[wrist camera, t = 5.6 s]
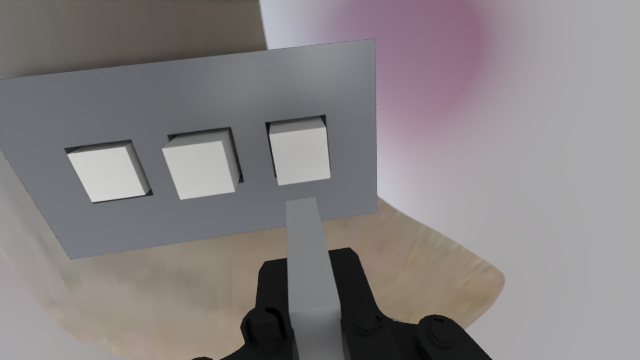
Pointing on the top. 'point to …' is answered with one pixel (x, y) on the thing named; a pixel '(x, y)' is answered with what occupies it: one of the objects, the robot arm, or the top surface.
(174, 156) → the button
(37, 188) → the console
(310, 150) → the button
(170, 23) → the top surface
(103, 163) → the button
